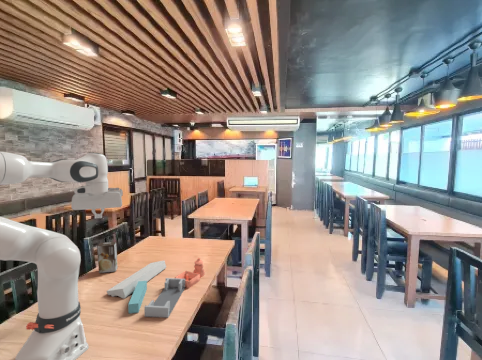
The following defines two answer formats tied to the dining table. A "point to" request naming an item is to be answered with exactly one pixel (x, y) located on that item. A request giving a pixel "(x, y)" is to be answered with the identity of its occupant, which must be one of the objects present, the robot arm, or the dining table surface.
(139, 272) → the decorative molding
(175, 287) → the end cap cradle
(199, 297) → the dining table surface
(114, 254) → the coffee box
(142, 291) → the slat
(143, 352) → the dining table surface
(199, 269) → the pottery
